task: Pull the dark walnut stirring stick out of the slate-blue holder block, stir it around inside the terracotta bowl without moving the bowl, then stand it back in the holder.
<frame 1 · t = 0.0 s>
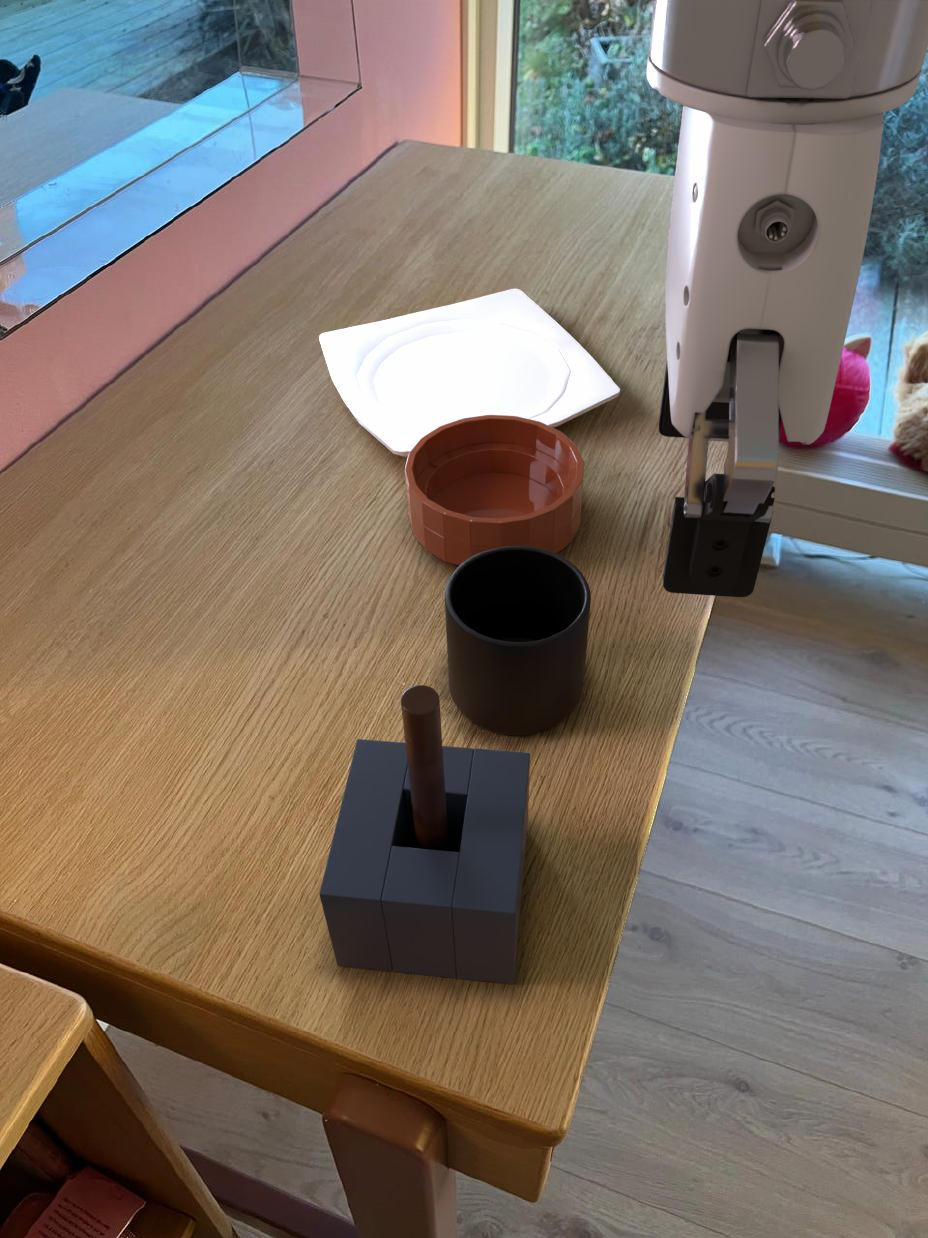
hand: (700, 505, 40), 28 cm above the table, tool pointing down, fingers open, 9 cm apart
mug: (519, 673, 72), on the table
holder: (437, 895, 59), on the table
plate: (464, 387, 98), on the table
stick: (429, 809, 53), in the holder
bowl: (494, 518, 84), on the table
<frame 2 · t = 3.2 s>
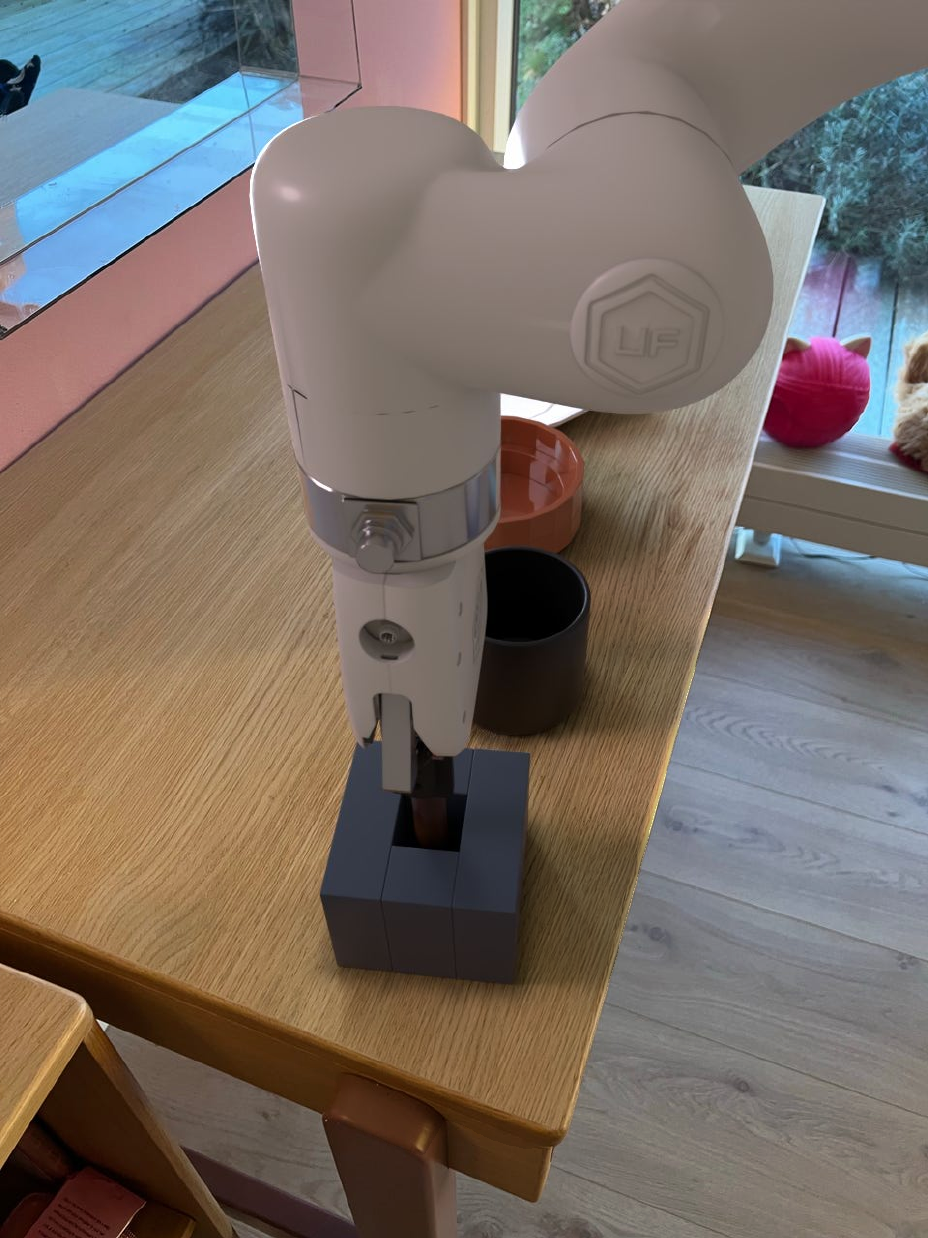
hand: (426, 769, 50), 13 cm above the table, tool pointing down, fingers closed on stick, 1 cm apart
stick: (429, 809, 53), in the holder, touching gripper
everything else where it was.
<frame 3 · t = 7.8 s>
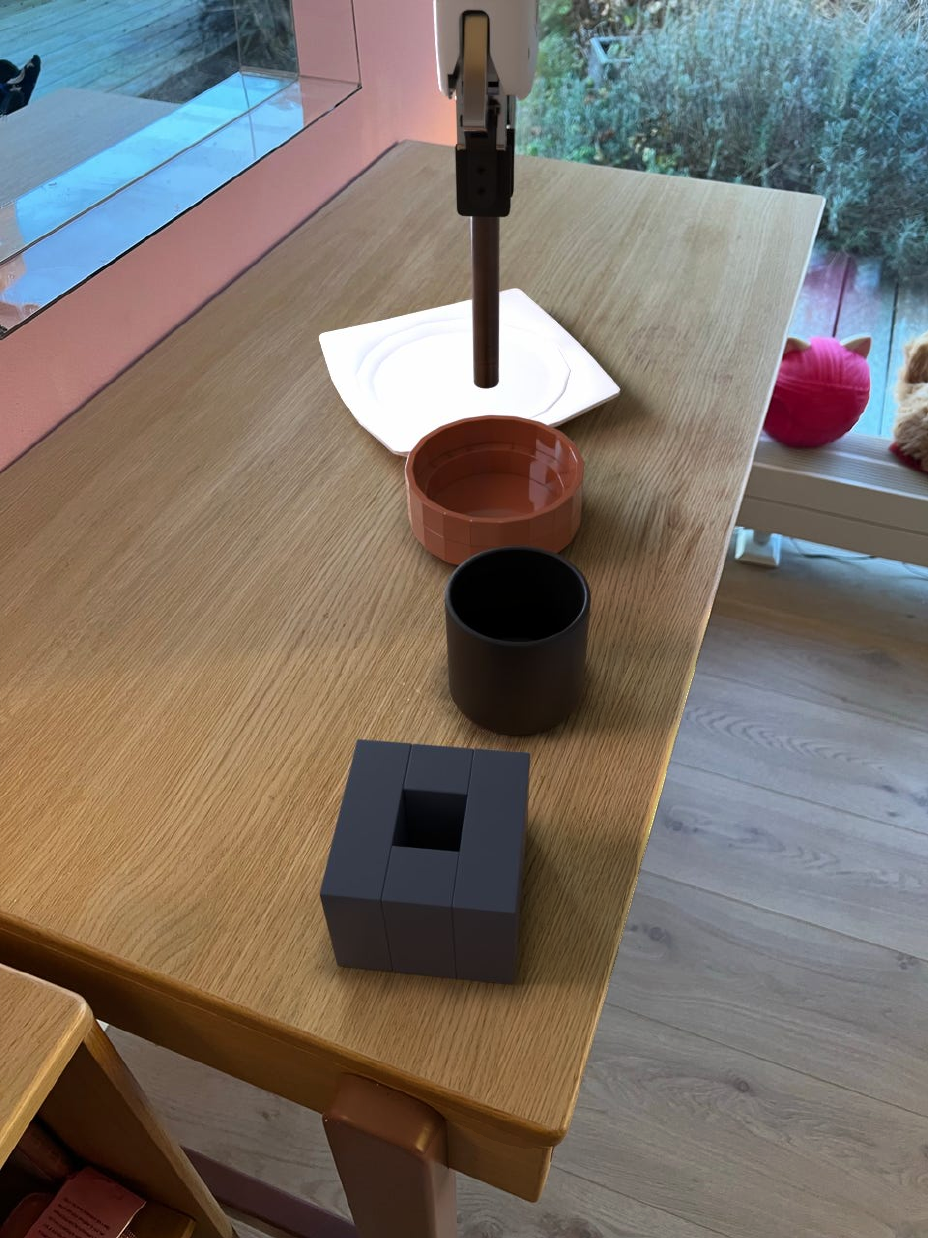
hand: (485, 203, 61), 28 cm above the table, tool pointing down, fingers closed on stick, 1 cm apart
stick: (485, 258, 64), point 24 cm above the table, touching gripper
everything else where it was.
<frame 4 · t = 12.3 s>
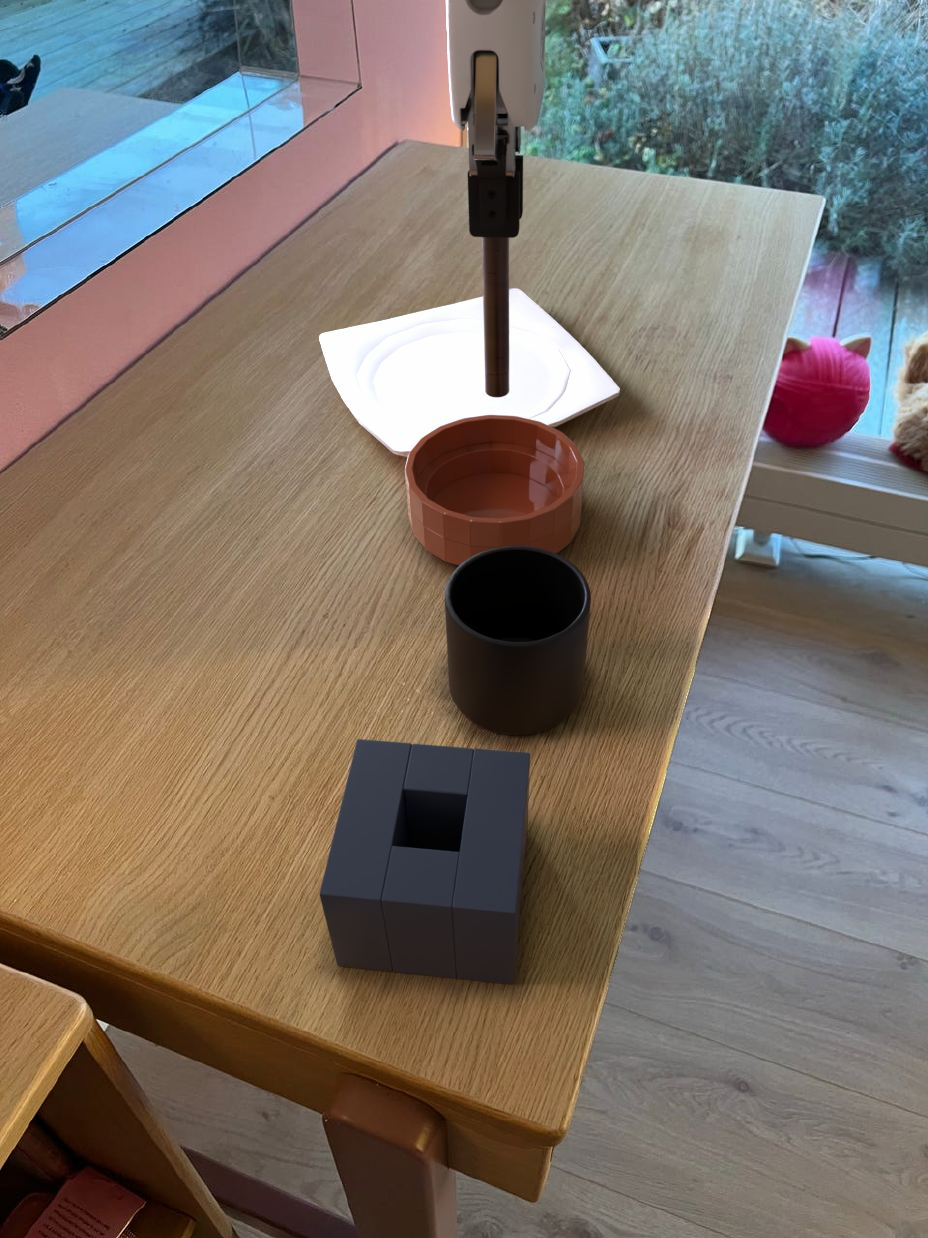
hand: (496, 224, 66), 25 cm above the table, tool pointing down, fingers closed on stick, 1 cm apart
stick: (495, 276, 68), point 22 cm above the table, touching gripper
everything else where it was.
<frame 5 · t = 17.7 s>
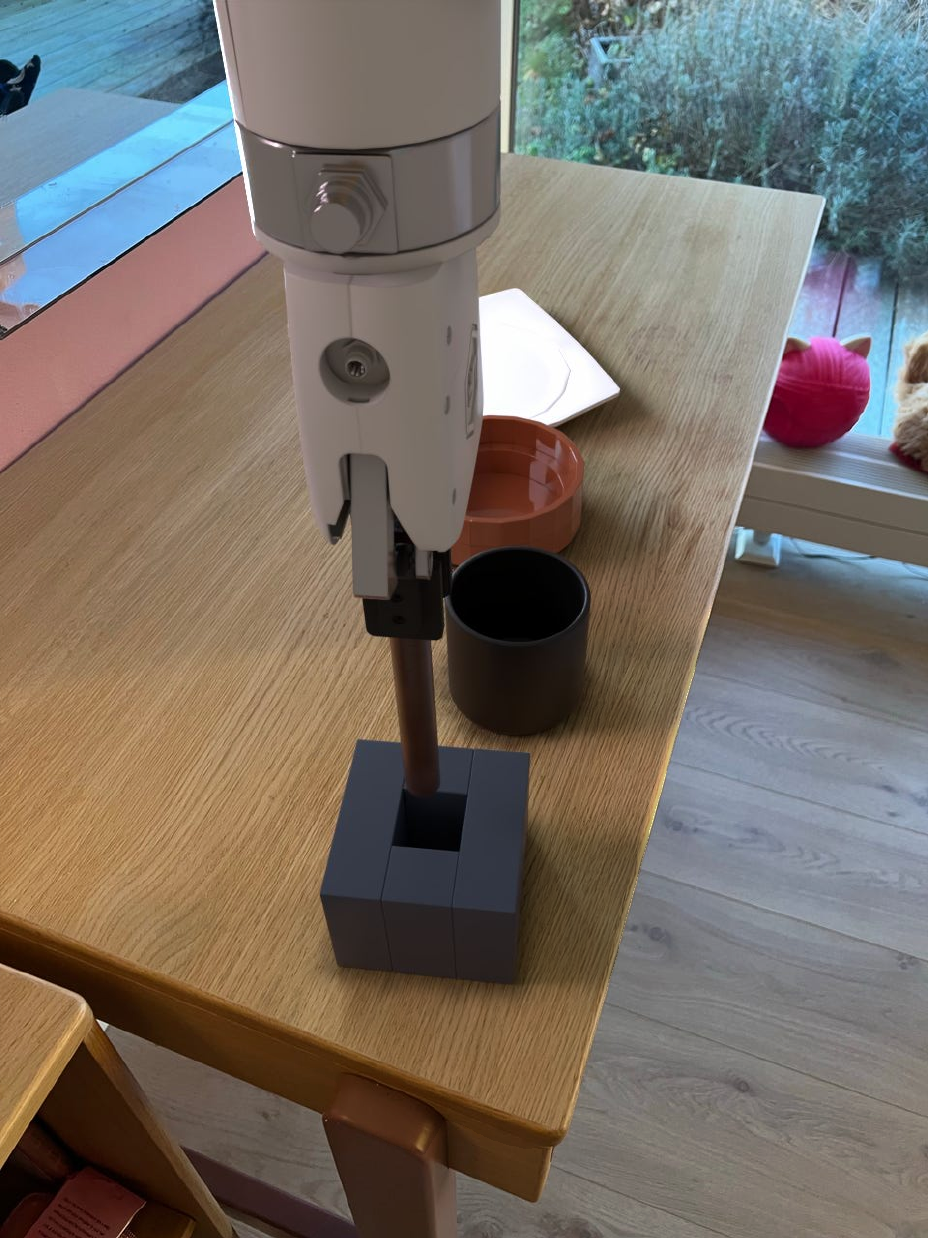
hand: (410, 609, 42), 24 cm above the table, tool pointing down, fingers closed on stick, 1 cm apart
stick: (412, 665, 45), point 20 cm above the table, touching gripper
everything else where it was.
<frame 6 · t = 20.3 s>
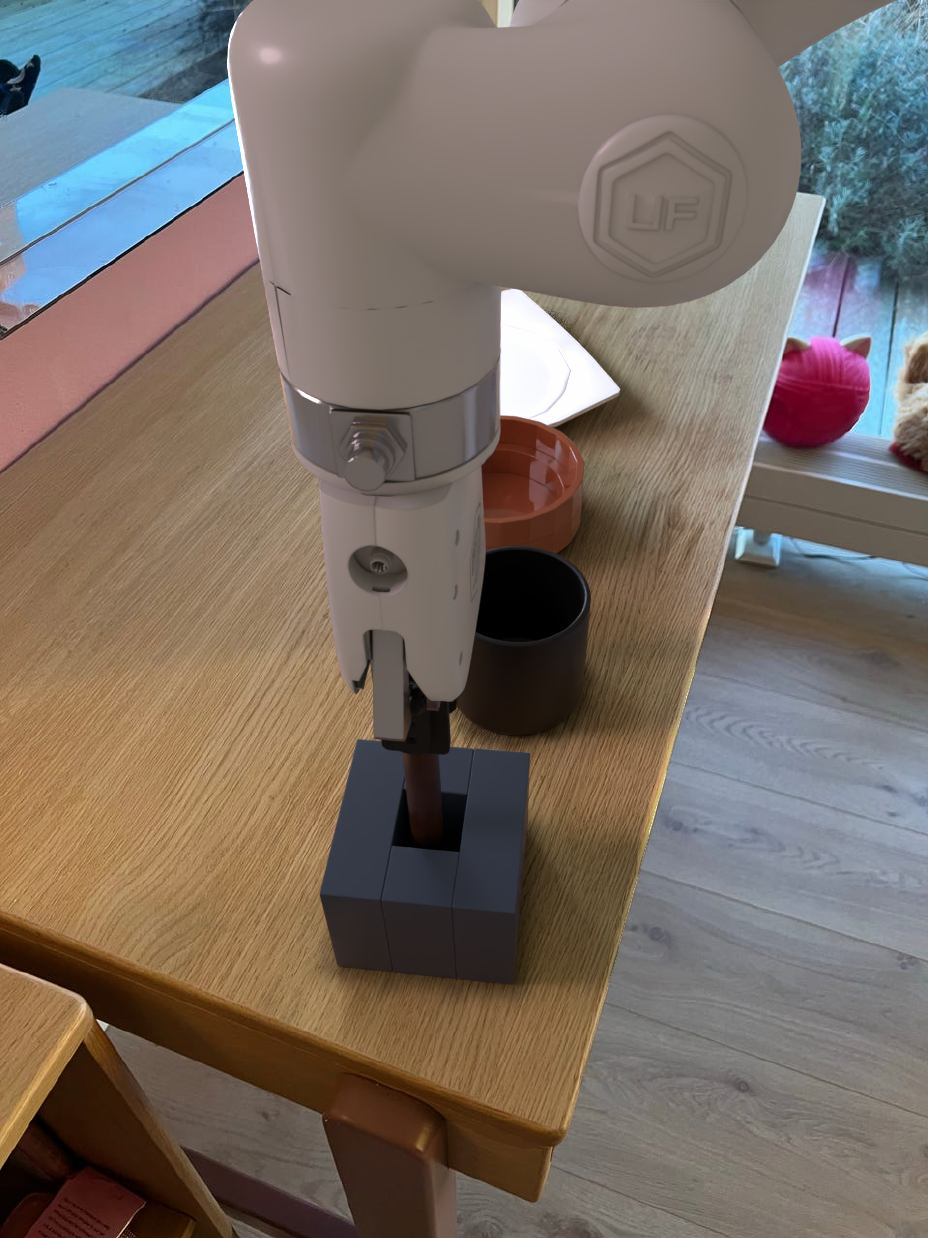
hand: (420, 725, 48), 16 cm above the table, tool pointing down, fingers closed on stick, 1 cm apart
stick: (421, 768, 50), point 12 cm above the table, touching gripper
everything else where it was.
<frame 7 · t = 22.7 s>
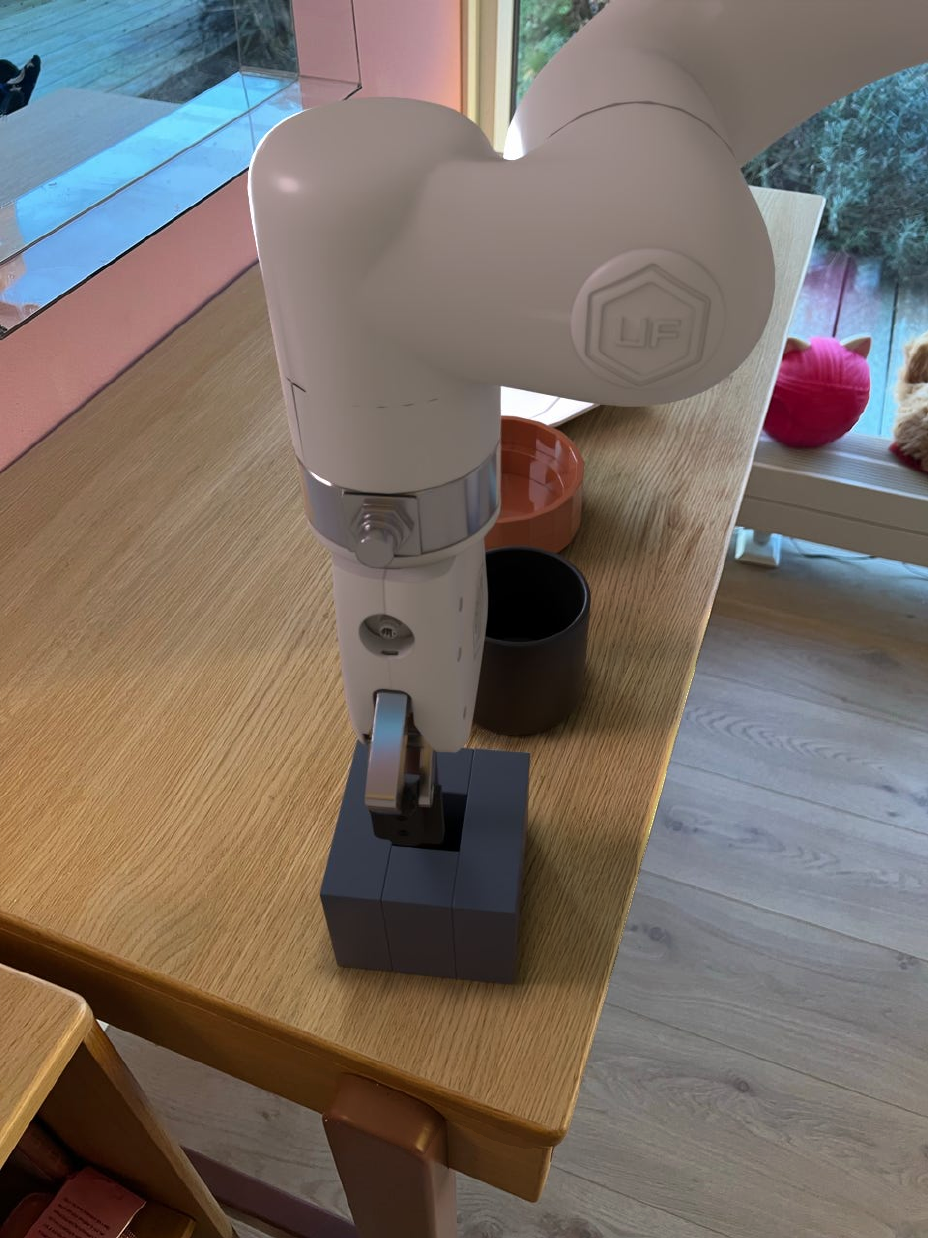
hand: (425, 751, 49), 14 cm above the table, tool pointing down, fingers open, 9 cm apart
stick: (423, 808, 53), in the holder
everything else where it was.
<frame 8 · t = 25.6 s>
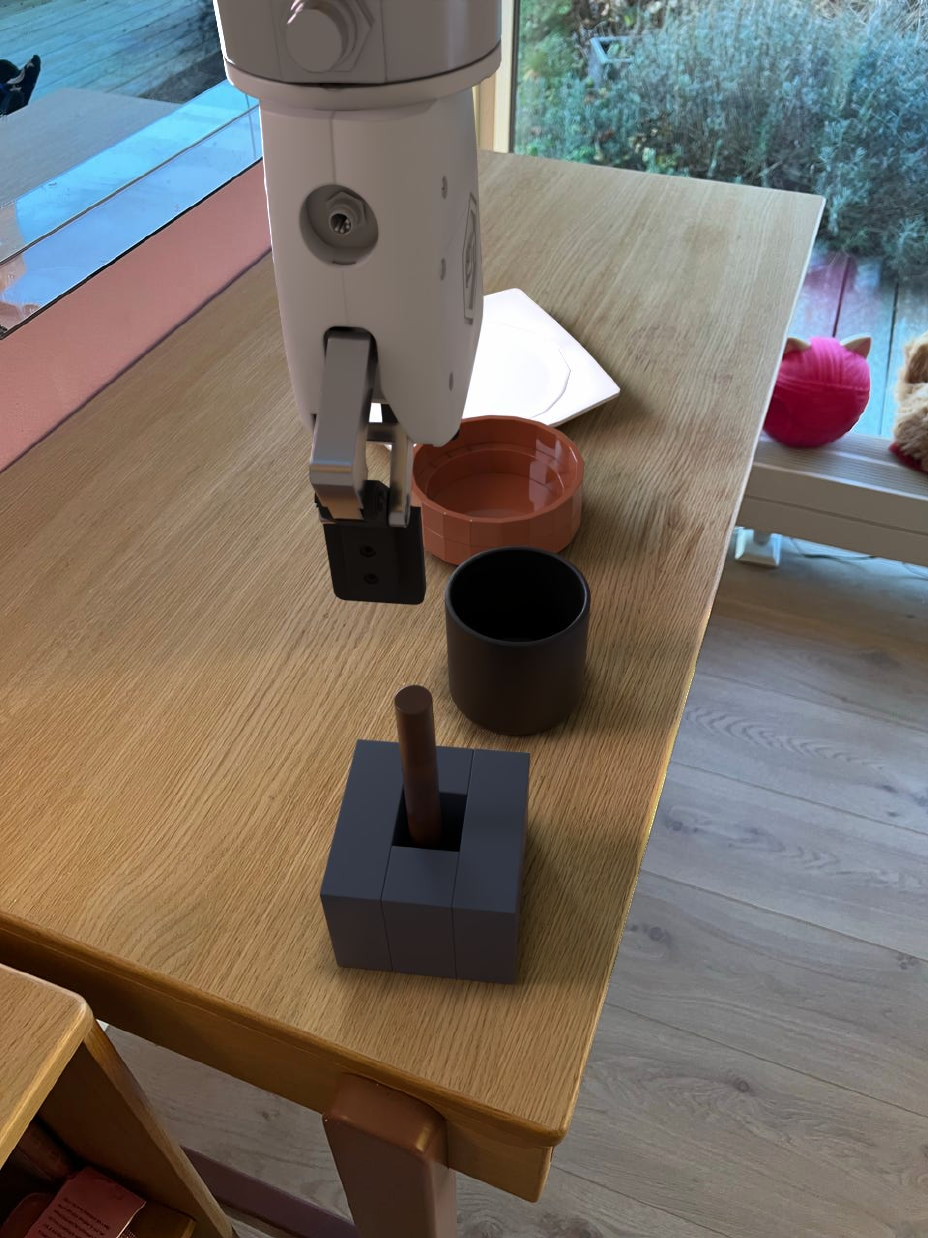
hand: (403, 509, 39), 29 cm above the table, tool pointing down, fingers open, 9 cm apart
nothing on the table moved.
at the end: stick 0.3 cm off-centre in the holder, point 9.0 cm above the holder's base; stick tilted 0°; bowl moved 0.0 cm from its start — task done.
